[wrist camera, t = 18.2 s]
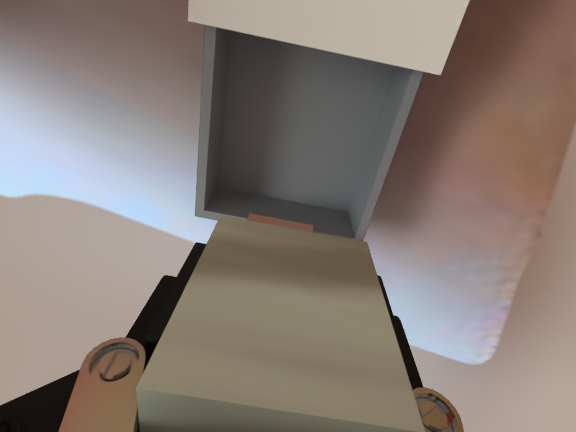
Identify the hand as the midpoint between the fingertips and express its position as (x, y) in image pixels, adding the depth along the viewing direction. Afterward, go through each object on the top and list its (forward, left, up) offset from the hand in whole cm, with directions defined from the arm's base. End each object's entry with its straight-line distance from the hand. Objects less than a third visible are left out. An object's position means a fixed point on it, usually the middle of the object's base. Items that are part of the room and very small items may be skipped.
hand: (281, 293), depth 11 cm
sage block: (0, 0, -1) cm, 1 cm away
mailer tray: (0, +1, -23) cm, 23 cm away
